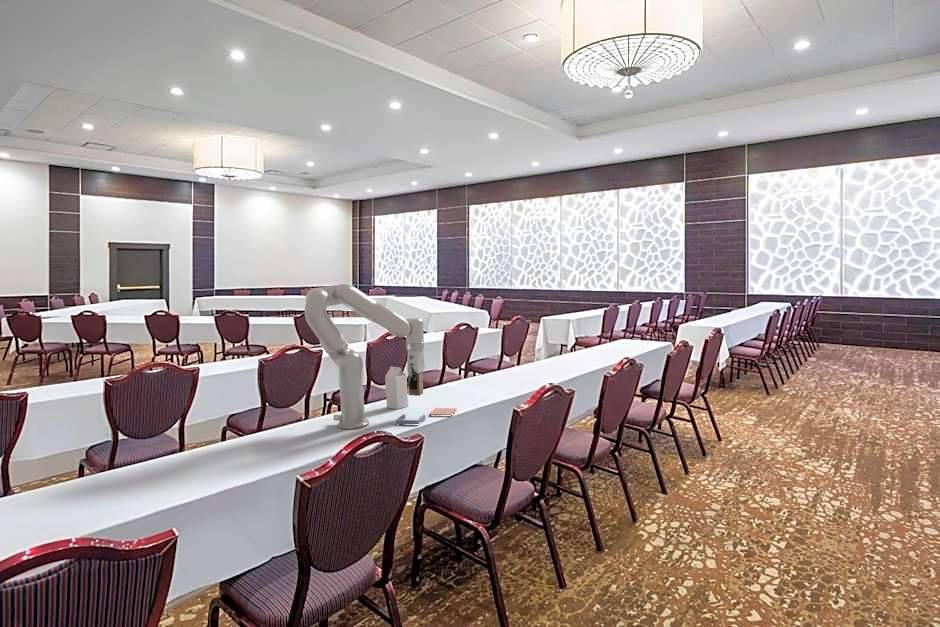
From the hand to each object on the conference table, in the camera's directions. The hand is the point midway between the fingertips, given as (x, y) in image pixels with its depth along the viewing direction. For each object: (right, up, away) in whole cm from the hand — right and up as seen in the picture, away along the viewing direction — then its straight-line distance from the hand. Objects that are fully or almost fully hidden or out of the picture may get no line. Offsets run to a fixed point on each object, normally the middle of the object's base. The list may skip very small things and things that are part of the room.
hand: (415, 387), depth 236 cm
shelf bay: (-1, -13, -8) cm, 16 cm away
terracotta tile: (+12, -12, +3) cm, 17 cm away
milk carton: (-10, -12, +17) cm, 24 cm away
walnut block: (0, -3, 0) cm, 3 cm away
